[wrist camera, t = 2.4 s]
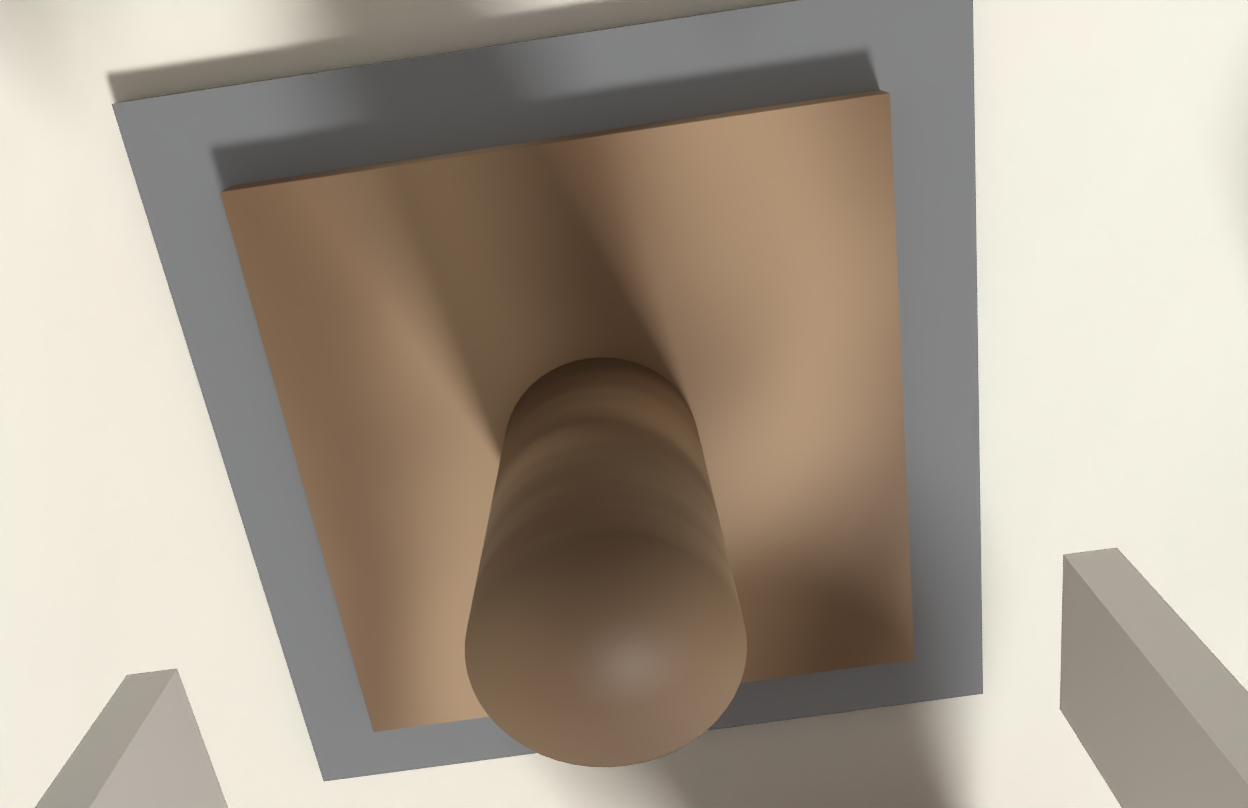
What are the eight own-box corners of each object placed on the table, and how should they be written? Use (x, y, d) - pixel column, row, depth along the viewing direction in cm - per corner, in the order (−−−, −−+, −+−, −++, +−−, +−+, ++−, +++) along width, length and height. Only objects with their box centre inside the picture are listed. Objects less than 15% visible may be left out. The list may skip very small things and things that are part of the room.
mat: (328, 768, 29) (323, 781, 28) (121, 102, 22) (111, 104, 22) (976, 682, 28) (982, 693, 28) (964, -25, 22) (972, -26, 21)
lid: (379, 712, 27) (289, 1016, 19) (232, 185, 22) (23, 296, 14) (905, 641, 27) (1041, 921, 19) (879, 89, 22) (1050, 145, 14)
